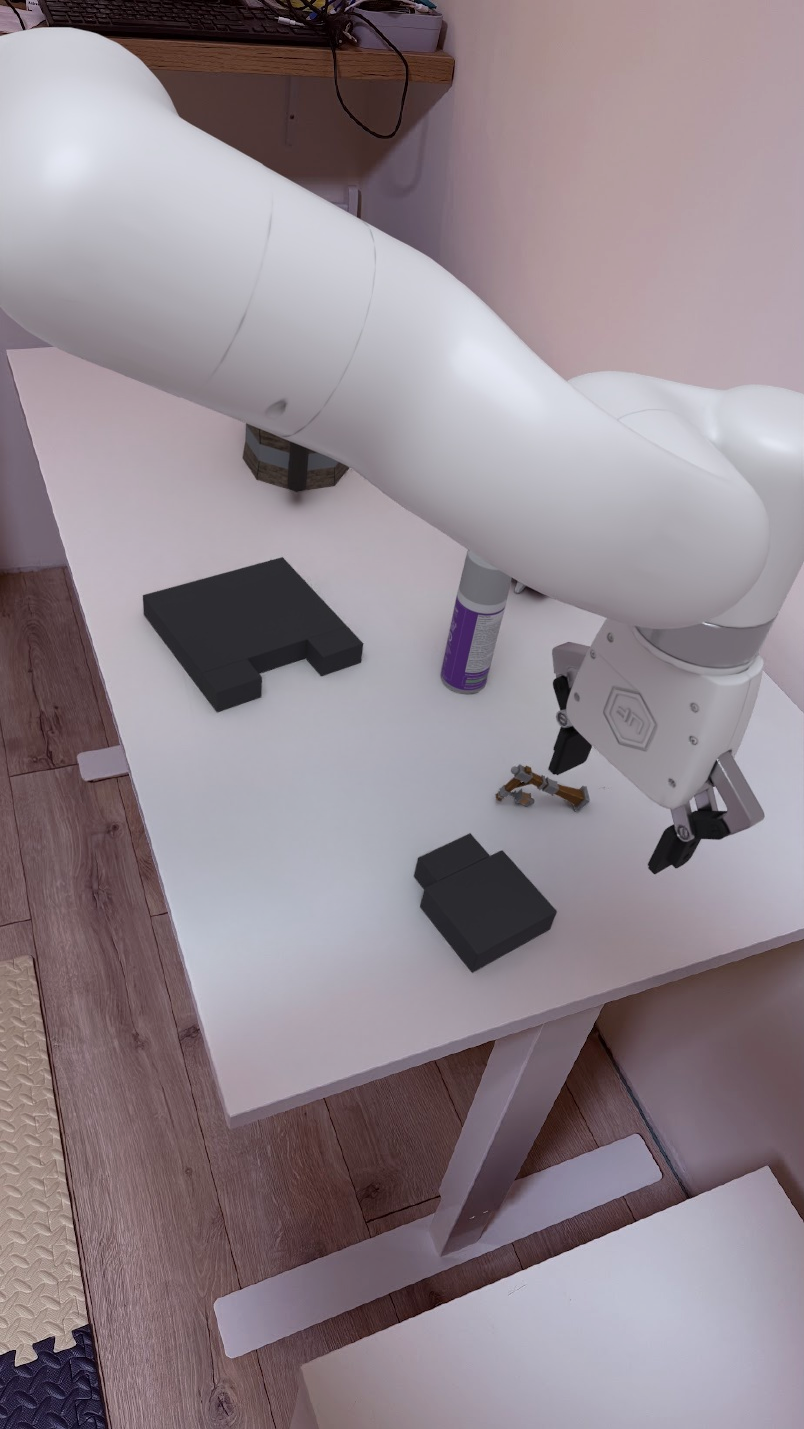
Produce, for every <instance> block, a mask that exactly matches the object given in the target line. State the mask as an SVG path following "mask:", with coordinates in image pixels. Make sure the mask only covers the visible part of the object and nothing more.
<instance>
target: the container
mask: <svg viewBox="0 0 804 1429" xmlns="http://www.w3.org/2000/svg"><path fill="white" fill-rule="evenodd" d="M461 572H462V573H461V576H460V580H459V585H458V589H457V592H456V597H455V601H454V606H453V612H452V617H451V621H450V624H449V625H450V626H449V629H448V630H449V631H448V636H447V641H446V645H445V649H444V656H443V660H442V665H441V670H440V680H441V682H442V684H443V685H444V686H445V687H446V688H447V689H449V690H450V691H453V692H455V693H458V694H462V695H471V694H476V693H479V692H480V691H482V690H483V689H484V688H485V687H486V685H487V681H488V677H489V673H490V670H491V669H490V668H491V665H492V661H493V656H494V652H495V649H496V645H497V641H498V638H499V633H500V629H501V625H502V622H503V618H504V613H505V610H506V605H507V601H508V597H509V592H510V587H511V583H512V579H513V578H512V577H510V576H508V575H507V574H505V573H503V572H502V571H500V570H498V569H497V568H495V567H494V566H492V565H491V564H489V563H488V562H486V561H484V560H483V559H481V558H480V557H478V556H477V555H475V554H474V553H472V552H471V551H469V550H468V549H467V551H466V555H465V560H464V564H463V567H462V571H461Z"/></svg>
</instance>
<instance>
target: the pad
mask: <svg viewBox="0 0 804 1429" xmlns="http://www.w3.org/2000/svg"><path fill="white" fill-rule="evenodd" d="M413 878H414V879H415V880H416V881H417V883H418V884H419V885H420V887H421V888H422V890H423V892H422V896H421V901H420V905H419V908H420V909H421V910H422V911H423V913H424V914H425V915H426V917H427V918H428V919H429V920H430V922H431V923H432V924H433V926H434V927H435V928H436V929H437V931H438V932H439V933H440V935H441V936H442V937H443V938H444V939H445V940H446V942H447V943H448V944H449V946H450V947H451V948H452V950H453V951H454V952H455V953H456V954H457V956H458V957H459V958H460V959H461V961H462V962H463V963H464V964H465V966H466V967H467V968H468V970H469V971H470V972H471V973H475V972H476V971H478V970H480V969H482V968H484V967H485V966H487V965H489V964H491V963H492V962H494V961H496V960H498V959H499V958H501V957H503V956H505V955H507V954H508V953H510V952H512V951H514V950H515V949H518V948H520V947H521V946H523V945H525V944H526V943H528V942H530V941H532V940H534V939H535V938H537V937H539V936H541V935H543V934H544V933H546V932H548V931H549V930H551V928H552V925H553V923H554V920H555V918H556V915H557V912H558V911H557V909H556V908H555V907H554V906H553V905H552V904H551V903H550V901H549V900H548V899H547V898H546V897H545V895H543V894H542V892H541V891H540V890H539V889H538V888H537V887H536V886H535V884H533V882H532V881H531V880H530V879H529V878H528V876H527V875H525V873H524V872H523V871H522V870H521V868H519V866H517V864H516V863H515V862H514V861H513V860H512V858H510V856H509V855H508V854H507V853H506V852H505V851H504V850H503V849H501V850H499V851H496V852H494V853H493V854H490V853H489V852H488V851H487V850H486V849H485V848H484V847H483V846H482V845H481V843H480V842H479V841H478V840H477V839H476V837H475V836H474V835H473V834H472V833H471V832H469V833H467V834H465V835H463V836H461V837H459V838H457V839H456V838H455V839H454V840H453V841H450V842H448V843H445V844H444V845H442V846H440V847H437V848H435V849H434V850H431V851H428V852H426V853H424V854H423V855H421V856H418V857H417V858H416V864H415V869H414V873H413Z"/></svg>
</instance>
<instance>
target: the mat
mask: <svg viewBox="0 0 804 1429" xmlns="http://www.w3.org/2000/svg"><path fill="white" fill-rule="evenodd" d="M142 609H143V610H142V611H143V616H144V617H145V618H146V620H147V621H148V622H149V624H150V625H151V627H152V628H153V630H154V631H156V633H157V634H158V636H159V637H160V638H161V640H162V641H163V642H164V644H165V645H166V646H167V648H168V650H169V651H170V652H171V653H172V655H173V656H174V657H175V658H176V660H177V661H178V662H179V664H180V665H181V666H182V668H183V669H184V670H185V672H186V673H187V674H188V676H189V677H190V678H191V680H192V681H193V683H194V684H195V685H196V686H197V688H198V689H199V691H200V692H201V693H202V694H203V696H204V697H205V699H206V700H207V701H208V703H209V704H210V705H211V707H212V708H213V709H214V711H215V712H216V713H219V712H221V711H224V710H228V709H231V708H233V707H236V706H239V705H242V704H245V703H247V702H250V701H251V702H252V701H254V700H256V699H260V698H262V690H263V677H262V675H261V674H263V673H265V672H268V671H271V670H275V669H276V668H280V667H284V666H286V665H289V664H293V663H295V662H298V661H301V660H303V659H304V660H305V659H306V660H307V662H308V663H309V664H310V666H312V668H314V670H315V671H316V672H317V673H318V675H319V676H320V677H323V676H326V675H329V674H332V673H335V672H338V671H340V670H344V669H347V668H349V667H352V666H355V665H358V664H361V663H362V658H363V650H364V642H363V641H362V640H361V639H360V638H359V637H358V636H357V635H356V634H355V633H354V631H353V630H351V629H350V628H349V626H347V624H346V623H345V622H344V621H343V620H342V618H340V617H339V615H337V614H336V612H335V611H334V610H333V609H332V608H331V607H330V606H329V605H328V604H327V603H326V601H324V600H323V599H322V597H320V596H319V594H318V593H317V592H316V591H315V590H314V589H313V588H312V587H311V585H309V584H308V582H306V581H305V579H304V578H303V577H302V576H301V575H300V573H298V572H297V570H295V569H294V567H293V566H291V564H290V563H289V562H288V561H287V560H286V559H285V558H284V556H281V557H278V558H274V559H270V560H267V561H263V562H259V563H255V564H252V565H248V566H245V567H241V568H238V569H234V570H229V571H226V572H222V573H219V574H215V575H211V576H208V577H204V578H200V579H196V580H193V581H190V582H186V583H182V584H179V585H178V584H177V585H175V586H171V587H167V588H164V589H160V590H156V591H153V592H150V593H149V592H148V593H146V594H142Z"/></svg>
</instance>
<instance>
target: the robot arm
mask: <svg viewBox="0 0 804 1429" xmlns="http://www.w3.org/2000/svg"><path fill="white" fill-rule="evenodd" d="M0 309H1V310H2V311H3V312H4V313H5V314H6V315H7V316H8V317H9V318H10V319H12V321H14V322H15V323H17V324H18V325H19V326H20V327H21V328H23V329H24V330H25V331H26V332H28V333H30V334H31V335H33V336H35V337H36V338H38V339H40V340H41V341H42V342H45V343H47V344H49V345H51V346H52V347H54V348H56V349H58V350H60V351H62V352H64V353H67V354H69V355H72V356H74V357H77V358H79V359H81V360H84V361H86V362H89V363H91V364H93V365H95V366H98V367H101V368H104V369H107V370H110V371H112V372H115V373H116V374H120V375H122V376H125V377H127V378H130V379H131V380H135V381H137V382H140V383H142V384H144V385H147V386H149V387H152V388H155V389H157V390H159V391H162V392H165V393H167V394H169V395H172V396H174V397H176V398H179V399H183V400H186V401H189V402H190V403H193V404H197V405H199V406H201V407H204V408H205V409H206V408H207V409H209V410H212V411H214V412H217V413H218V414H222V415H224V416H226V417H229V418H230V419H231V418H232V419H233V420H236V421H239V422H242V423H245V424H246V423H247V424H249V425H252V426H254V427H257V428H259V429H262V430H264V431H267V432H269V433H272V434H274V435H276V436H278V437H281V438H283V439H286V440H288V441H291V442H293V443H296V444H298V445H301V446H303V447H306V448H308V449H311V450H313V451H316V452H318V453H320V454H323V455H325V456H328V457H330V458H332V459H334V460H336V461H338V462H340V463H342V464H344V465H346V466H348V467H350V468H349V469H351V470H353V471H354V472H356V473H357V474H358V475H360V476H361V478H363V479H365V480H366V481H367V482H369V483H370V484H371V485H372V486H374V487H375V488H376V489H378V490H379V491H380V492H381V493H383V494H384V495H385V496H387V497H388V498H389V499H391V500H392V501H393V502H395V503H396V504H398V505H399V506H400V507H402V508H404V509H405V510H406V511H408V512H410V513H411V514H413V515H415V516H416V517H418V518H420V519H421V520H422V521H424V522H426V523H427V524H429V525H430V526H432V527H433V528H435V529H437V530H438V531H440V532H441V533H443V534H444V535H446V536H447V537H448V538H449V539H452V540H453V541H454V542H456V543H457V544H459V545H460V546H462V547H463V548H465V549H467V551H468V550H469V551H471V552H472V553H474V554H475V555H477V556H478V557H480V558H481V559H483V560H484V561H486V562H488V563H489V564H491V565H492V566H494V567H495V568H497V569H498V570H500V571H502V572H503V573H505V574H507V575H508V576H510V577H512V579H513V580H516V581H517V582H518V581H519V582H521V583H522V584H524V585H526V586H525V587H528V588H530V589H532V590H534V591H536V592H538V593H540V594H542V595H544V596H547V597H549V598H550V599H554V600H555V601H558V602H561V603H564V604H566V605H570V606H572V607H574V608H578V609H580V610H582V611H586V612H588V613H592V614H593V615H594V614H595V615H597V616H600V617H603V618H606V619H605V620H604V622H603V624H602V625H601V627H600V629H599V630H598V632H597V634H596V635H595V637H594V638H593V641H592V642H591V644H590V645H585V644H581V643H576V642H571V641H567V642H564V643H561V644H559V645H556V646H554V647H552V650H551V656H552V664H553V674H555V678H554V679H553V681H552V688H553V692H554V694H555V698H556V701H557V704H558V707H559V710H558V711H556V714H555V719H556V720H555V721H556V722H557V724H558V725H559V726H560V728H559V731H558V733H557V736H556V740H555V743H554V745H553V754H552V756H551V760H550V762H549V765H548V767H547V769H548V771H549V772H550V773H551V774H552V775H553V776H555V775H556V776H559V775H561V774H564V773H566V772H568V771H570V770H572V769H574V768H577V767H579V766H580V765H583V764H584V763H586V762H587V760H588V757H589V756H590V753H591V750H592V749H593V748H594V749H595V750H596V751H597V752H598V753H599V754H600V755H601V756H602V757H603V758H604V759H605V760H606V761H607V762H608V763H610V764H611V765H612V766H613V767H614V768H615V769H616V770H617V771H618V772H619V773H621V774H622V776H624V777H625V778H626V779H627V780H628V781H629V782H630V783H631V784H633V785H634V787H636V788H637V789H638V790H639V791H640V792H641V793H642V794H643V795H644V796H645V797H647V798H648V799H650V801H652V802H653V803H655V804H656V805H658V806H659V807H662V808H665V809H668V810H670V814H671V818H672V819H671V820H672V824H671V825H669V826H667V827H665V829H664V830H663V832H662V834H661V836H660V838H659V839H658V842H657V844H656V846H655V848H654V850H653V852H652V854H651V856H650V858H649V861H648V862H647V867H648V868H647V869H648V870H649V871H650V872H651V873H652V874H653V875H657V874H659V873H660V872H662V871H664V870H666V869H668V868H669V867H671V866H672V867H673V868H674V869H680V868H681V867H683V866H684V865H685V864H687V863H688V862H689V861H690V860H691V859H692V857H693V856H694V853H695V852H696V850H697V848H698V846H699V844H700V842H701V841H702V840H714V841H715V840H716V841H720V840H721V841H722V839H724V838H727V837H729V836H732V835H735V834H738V833H740V832H743V831H746V830H748V829H751V828H752V827H754V826H756V825H757V824H759V823H760V822H762V821H763V820H764V819H765V811H764V809H763V807H762V806H761V804H760V802H759V801H758V799H757V797H756V795H755V794H754V792H753V790H752V788H751V787H750V784H749V782H748V781H747V779H746V778H745V776H744V774H743V772H742V771H741V768H740V767H739V765H738V763H737V761H736V760H735V757H736V755H737V753H738V750H739V748H740V746H741V744H742V742H743V739H744V737H745V734H746V732H747V730H748V726H749V723H750V722H751V718H752V715H753V712H754V709H755V705H756V702H757V699H758V695H759V692H760V688H761V682H762V679H763V678H762V677H763V673H764V667H765V660H764V658H763V657H762V656H761V655H760V652H761V649H762V648H763V645H764V643H765V641H766V640H767V637H768V636H769V634H770V631H771V630H772V627H773V625H774V624H775V622H776V619H777V617H778V616H779V613H780V611H781V609H782V607H783V605H784V604H785V601H786V600H787V598H788V595H789V593H790V591H791V590H792V587H793V585H794V583H795V581H796V579H797V577H798V575H799V572H800V571H801V568H802V566H803V565H804V393H802V392H800V391H796V390H793V389H789V388H786V387H781V386H776V385H769V384H759V383H758V384H757V383H755V384H753V383H751V384H743V385H737V386H734V387H731V388H728V389H719V388H712V387H704V386H701V385H700V386H699V385H694V384H691V383H690V384H689V383H684V382H678V381H674V380H669V379H666V378H661V377H658V376H657V377H656V376H652V375H647V374H646V375H645V374H642V373H637V372H631V371H624V370H623V371H622V370H600V371H598V370H597V371H592V372H586V373H582V374H579V375H576V376H573V377H570V378H569V379H567V380H566V379H565V378H564V377H562V376H561V375H560V374H559V373H557V372H556V371H555V370H554V369H553V368H552V367H551V366H550V365H548V364H547V363H546V361H544V360H543V359H542V358H541V357H540V356H539V355H538V354H537V353H536V352H535V351H534V350H532V349H531V348H530V347H529V345H527V344H526V343H525V342H524V341H523V340H522V339H521V338H520V337H519V336H518V335H517V334H516V333H515V332H514V331H513V330H512V328H510V326H509V325H508V324H507V323H506V322H505V321H503V319H502V318H501V317H500V316H499V315H498V314H497V313H496V312H495V311H494V310H493V309H492V307H490V306H489V305H488V304H486V302H484V301H483V299H481V298H480V297H479V296H478V295H477V294H476V293H475V292H473V291H472V289H470V288H469V287H468V286H467V285H466V284H464V283H463V282H461V281H460V280H459V279H458V278H457V277H456V276H454V275H453V274H452V273H451V272H450V271H448V270H447V269H445V268H444V267H443V266H442V265H440V264H439V263H438V262H436V261H435V260H434V259H433V258H432V257H430V256H428V255H427V254H425V253H423V252H422V251H420V250H418V249H416V248H415V247H412V246H411V245H409V244H407V243H405V242H403V241H401V240H399V239H397V238H395V237H394V236H391V235H389V234H388V233H386V232H385V231H382V230H381V229H379V228H377V227H375V226H374V225H372V224H370V223H369V222H367V221H365V220H363V219H361V218H359V217H357V216H355V215H354V214H351V213H350V212H348V211H346V210H344V209H343V208H341V207H340V206H337V205H336V204H333V203H332V202H330V201H328V200H327V199H325V198H323V197H321V196H319V195H318V194H315V193H314V192H312V191H310V190H308V189H307V188H305V187H303V186H301V185H299V184H298V183H296V182H294V181H292V180H290V179H289V178H287V177H285V176H283V175H281V174H280V173H278V172H276V171H275V170H273V169H271V168H269V167H267V166H265V165H264V164H263V163H261V162H260V161H258V160H256V159H254V158H253V157H251V156H249V155H247V154H245V153H243V152H242V151H240V150H238V149H237V148H235V147H233V146H231V145H229V144H227V143H226V142H224V141H222V140H220V139H219V138H217V137H214V136H213V135H211V134H209V133H207V132H206V131H204V130H202V129H200V128H199V127H198V126H197V127H196V126H195V125H193V124H191V123H190V122H188V121H186V120H185V119H183V118H182V117H180V115H179V114H178V111H177V109H176V107H175V105H174V102H173V101H172V98H171V97H170V95H169V92H168V91H167V89H166V88H165V87H164V85H163V84H162V83H161V81H160V79H159V78H158V77H157V76H156V75H155V74H154V73H153V72H152V70H150V68H149V67H148V66H147V65H146V64H145V63H144V62H143V61H142V60H141V59H140V58H139V57H138V56H136V55H135V54H134V53H132V52H131V51H130V50H128V49H127V48H125V47H124V46H123V45H121V44H120V43H118V42H116V41H114V40H112V39H109V38H108V37H106V36H103V35H101V34H99V33H96V32H92V31H89V30H83V29H80V28H74V27H62V26H61V27H59V26H57V27H55V26H54V27H53V26H52V27H34V28H29V29H23V30H20V31H15V32H11V33H7V34H3V35H0ZM592 747H593V748H592ZM714 788H715V789H716V791H717V792H718V794H719V796H720V797H721V799H722V801H723V804H725V807H726V810H719V807H718V804H717V799H716V794H715V790H714ZM693 798H694V801H695V802H694V803H695V807H696V810H694V811H692V806H691V802H690V801H691V800H692V799H693Z"/></svg>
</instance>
